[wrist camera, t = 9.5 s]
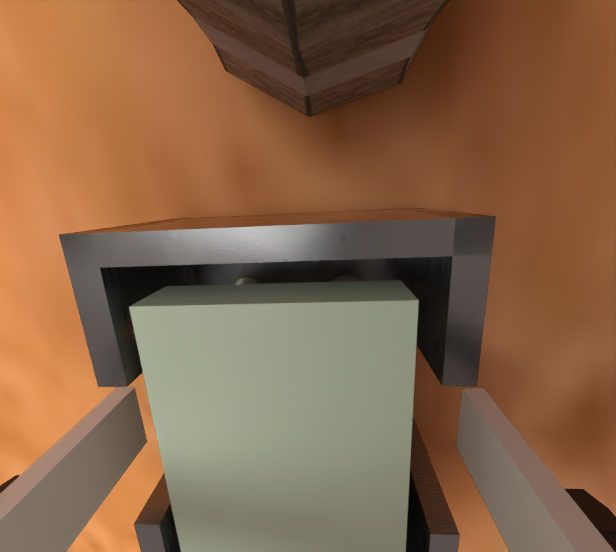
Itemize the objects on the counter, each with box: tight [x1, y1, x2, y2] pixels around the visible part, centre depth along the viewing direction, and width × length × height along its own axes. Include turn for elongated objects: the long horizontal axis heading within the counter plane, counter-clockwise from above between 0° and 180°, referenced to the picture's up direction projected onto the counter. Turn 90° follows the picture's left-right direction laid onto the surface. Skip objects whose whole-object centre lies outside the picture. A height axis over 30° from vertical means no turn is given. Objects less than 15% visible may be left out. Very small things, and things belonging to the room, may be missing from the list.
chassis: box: [59, 208, 496, 552], centre depth 13 cm, size 16×12×6 cm
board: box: [129, 280, 419, 552], centre depth 11 cm, size 12×8×2 cm, turn 3°
